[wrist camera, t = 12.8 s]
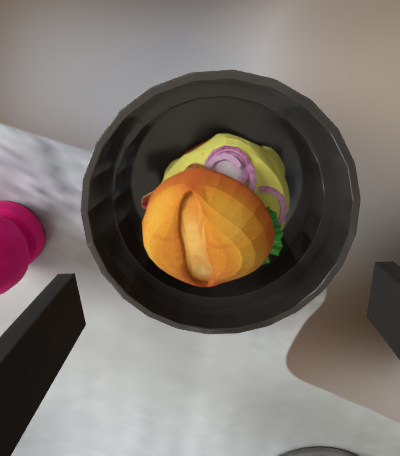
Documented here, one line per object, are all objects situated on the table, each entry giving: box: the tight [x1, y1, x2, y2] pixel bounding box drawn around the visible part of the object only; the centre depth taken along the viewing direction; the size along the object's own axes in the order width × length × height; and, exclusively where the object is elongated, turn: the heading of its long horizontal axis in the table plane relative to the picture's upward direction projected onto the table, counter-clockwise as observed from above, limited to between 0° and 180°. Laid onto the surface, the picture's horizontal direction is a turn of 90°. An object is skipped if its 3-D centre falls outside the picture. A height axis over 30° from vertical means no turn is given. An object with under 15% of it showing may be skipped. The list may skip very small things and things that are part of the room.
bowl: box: [81, 70, 360, 334], centre depth 25 cm, size 19×19×6 cm
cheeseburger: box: [142, 134, 290, 287], centre depth 24 cm, size 10×11×10 cm
